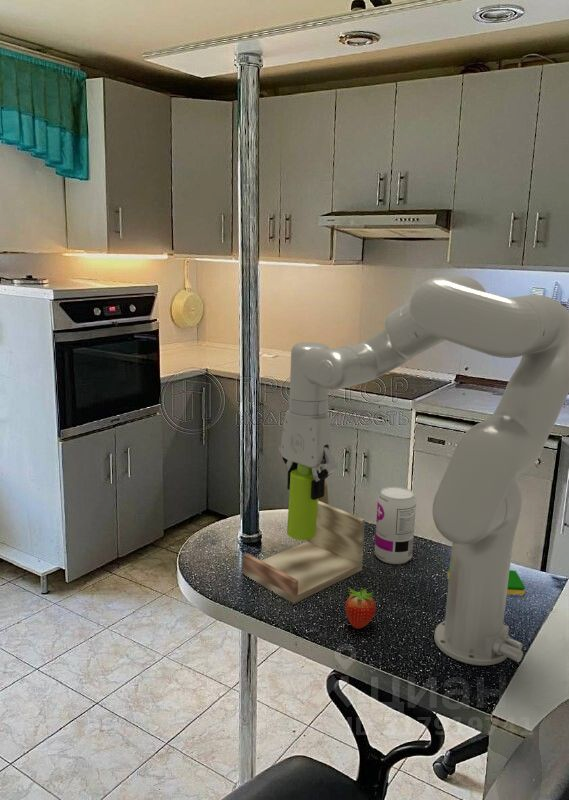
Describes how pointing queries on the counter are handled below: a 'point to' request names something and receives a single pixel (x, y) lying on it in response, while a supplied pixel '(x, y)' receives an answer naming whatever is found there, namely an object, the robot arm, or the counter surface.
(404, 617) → the counter surface
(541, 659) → the counter surface
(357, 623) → the fruit
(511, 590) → the dish sponge
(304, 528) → the soap dispenser
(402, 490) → the supplement can
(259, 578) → the wooden holder
